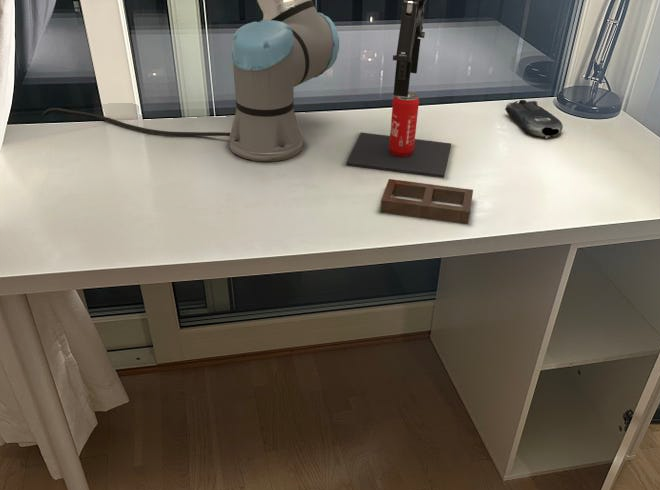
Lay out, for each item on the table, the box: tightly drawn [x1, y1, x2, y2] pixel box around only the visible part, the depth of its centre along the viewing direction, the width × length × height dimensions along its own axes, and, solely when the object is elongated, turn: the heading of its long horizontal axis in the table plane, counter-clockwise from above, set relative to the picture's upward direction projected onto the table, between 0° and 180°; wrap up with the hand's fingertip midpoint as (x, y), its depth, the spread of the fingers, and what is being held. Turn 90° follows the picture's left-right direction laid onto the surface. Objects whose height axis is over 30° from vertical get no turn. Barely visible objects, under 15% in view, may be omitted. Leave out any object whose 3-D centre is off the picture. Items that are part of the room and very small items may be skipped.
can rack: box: [379, 178, 474, 225], centre depth 130 cm, size 16×9×2 cm, turn 79°
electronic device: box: [504, 99, 564, 139], centre depth 162 cm, size 9×6×15 cm
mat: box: [345, 131, 452, 179], centre depth 148 cm, size 20×16×1 cm
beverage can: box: [389, 90, 420, 157], centre depth 144 cm, size 5×5×12 cm
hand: (405, 83), depth 139 cm, fingers open, 13 cm apart
